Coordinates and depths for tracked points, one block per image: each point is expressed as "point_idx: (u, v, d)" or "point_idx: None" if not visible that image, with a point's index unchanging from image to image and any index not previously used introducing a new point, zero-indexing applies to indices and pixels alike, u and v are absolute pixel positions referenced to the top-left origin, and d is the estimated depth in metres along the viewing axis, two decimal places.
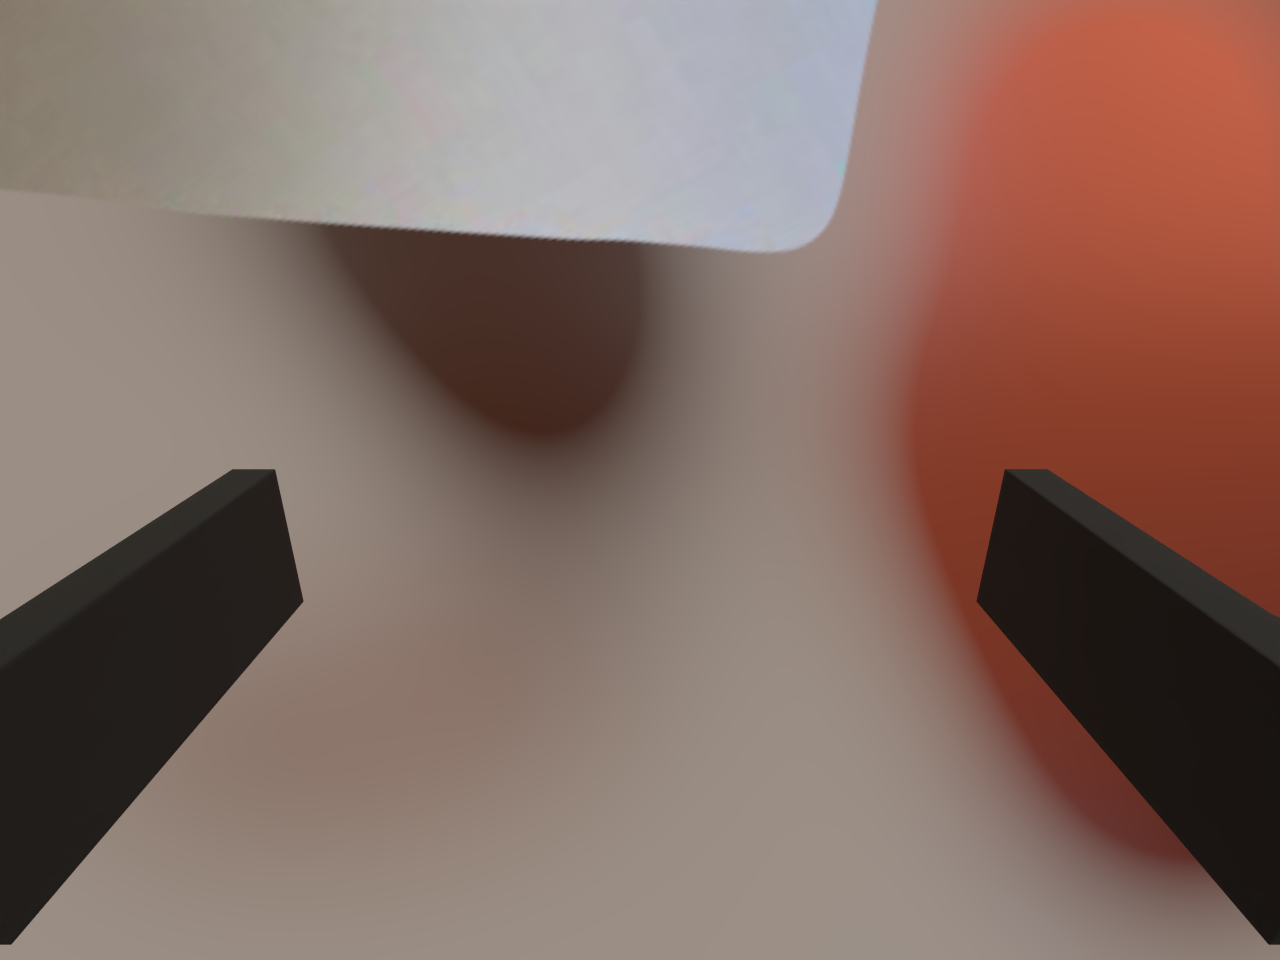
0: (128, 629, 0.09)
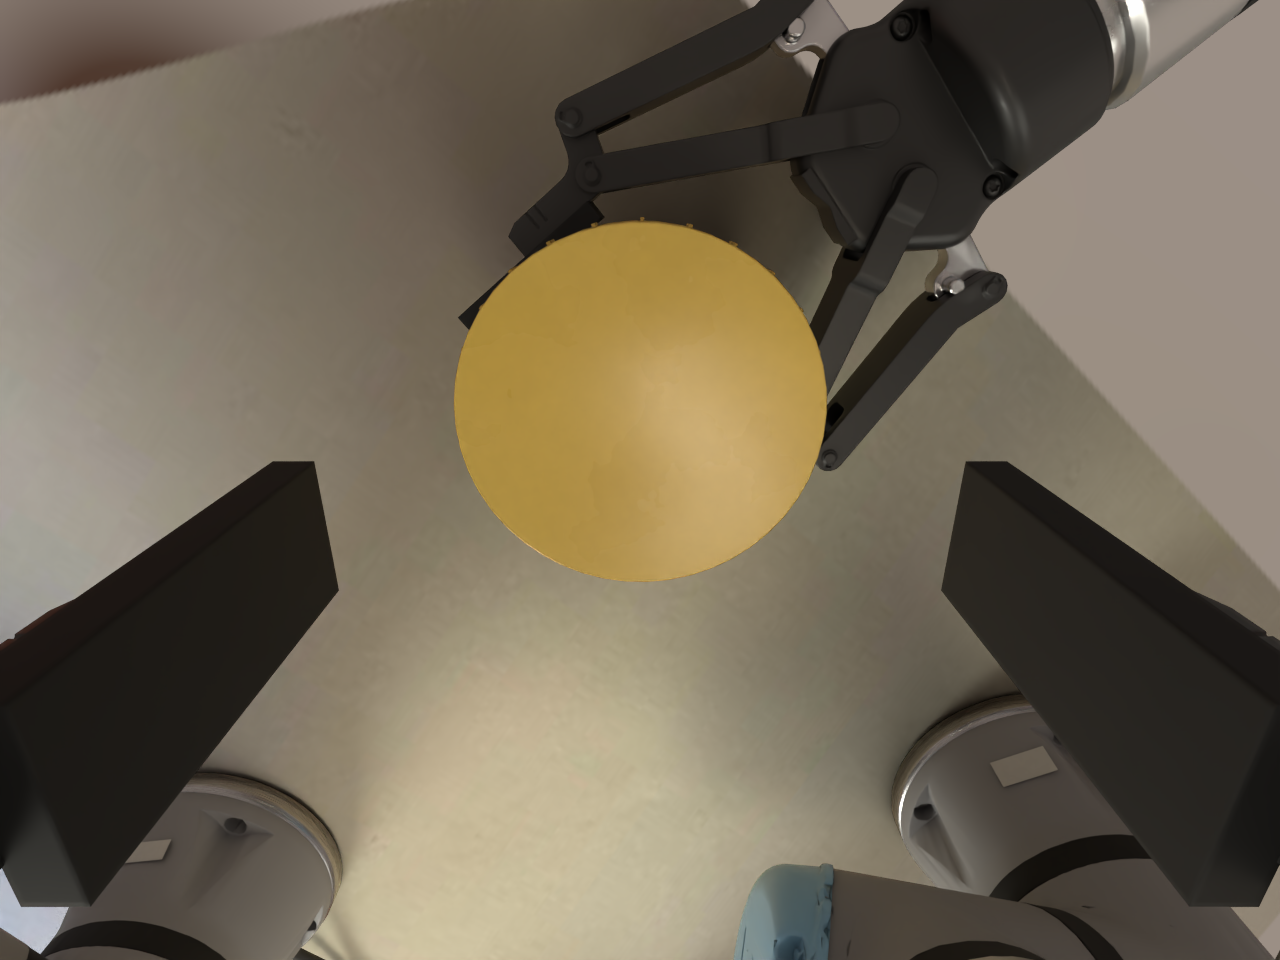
0: (188, 611, 0.09)
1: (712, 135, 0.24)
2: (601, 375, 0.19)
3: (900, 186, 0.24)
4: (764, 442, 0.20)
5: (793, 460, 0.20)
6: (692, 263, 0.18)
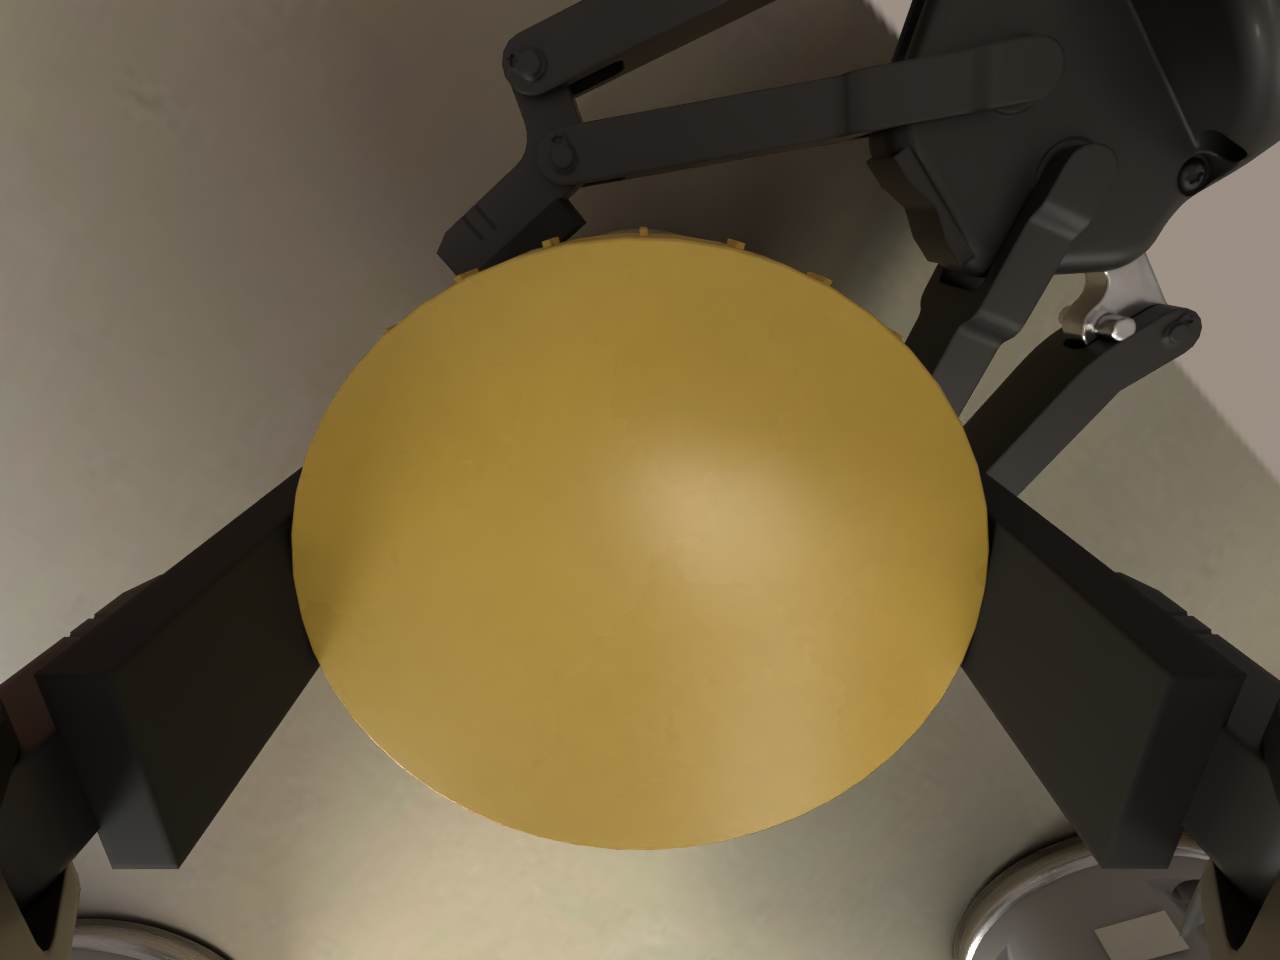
0: (257, 593, 0.09)
1: (755, 93, 0.15)
2: (566, 525, 0.10)
3: (1054, 174, 0.15)
4: (867, 638, 0.11)
5: (917, 667, 0.11)
6: (744, 320, 0.09)
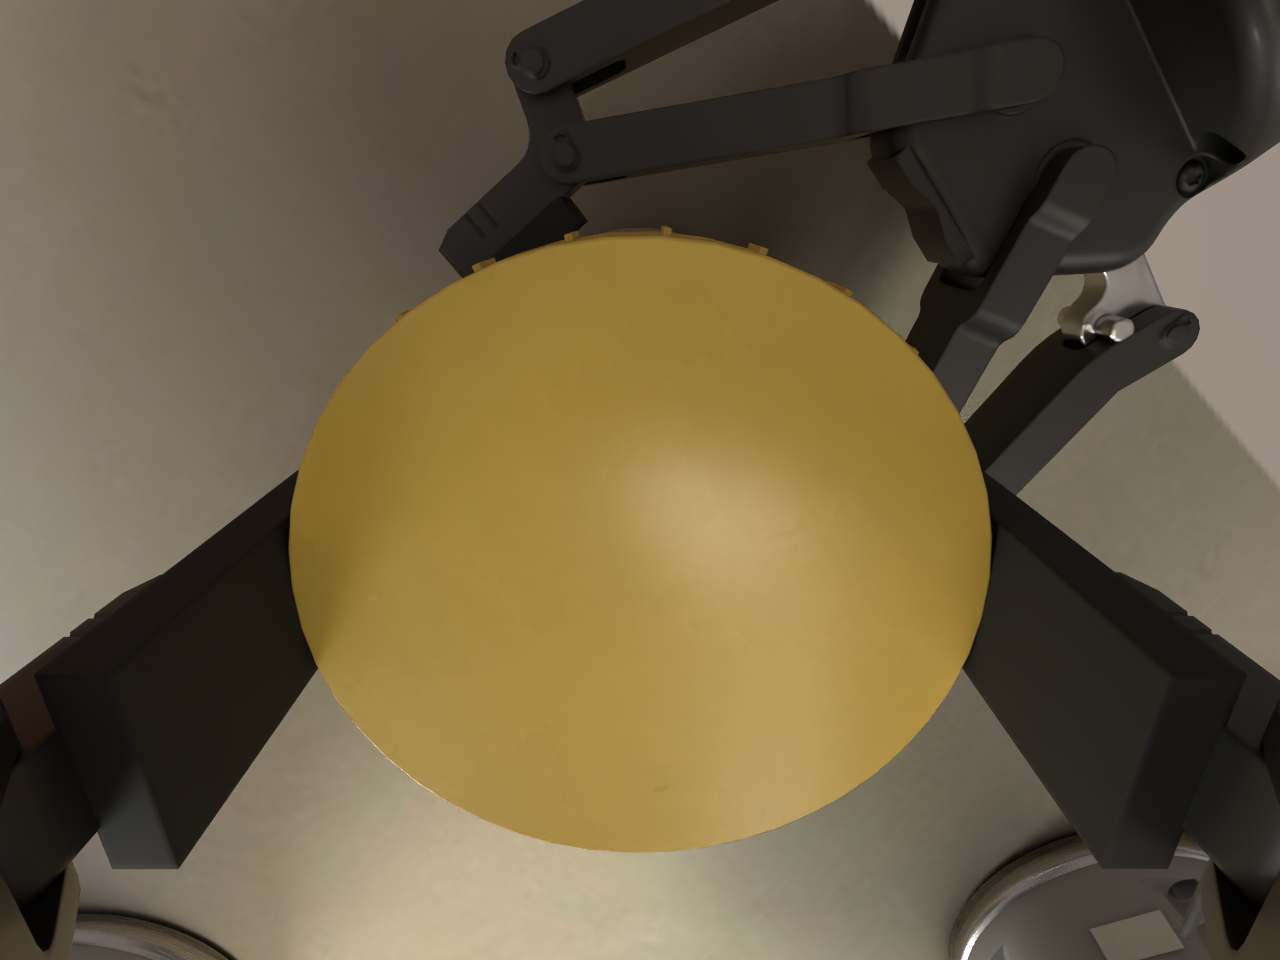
0: (256, 593, 0.09)
1: (756, 93, 0.15)
2: (583, 679, 0.11)
3: (1054, 176, 0.15)
4: (607, 370, 0.09)
5: (626, 292, 0.09)
6: (347, 602, 0.10)
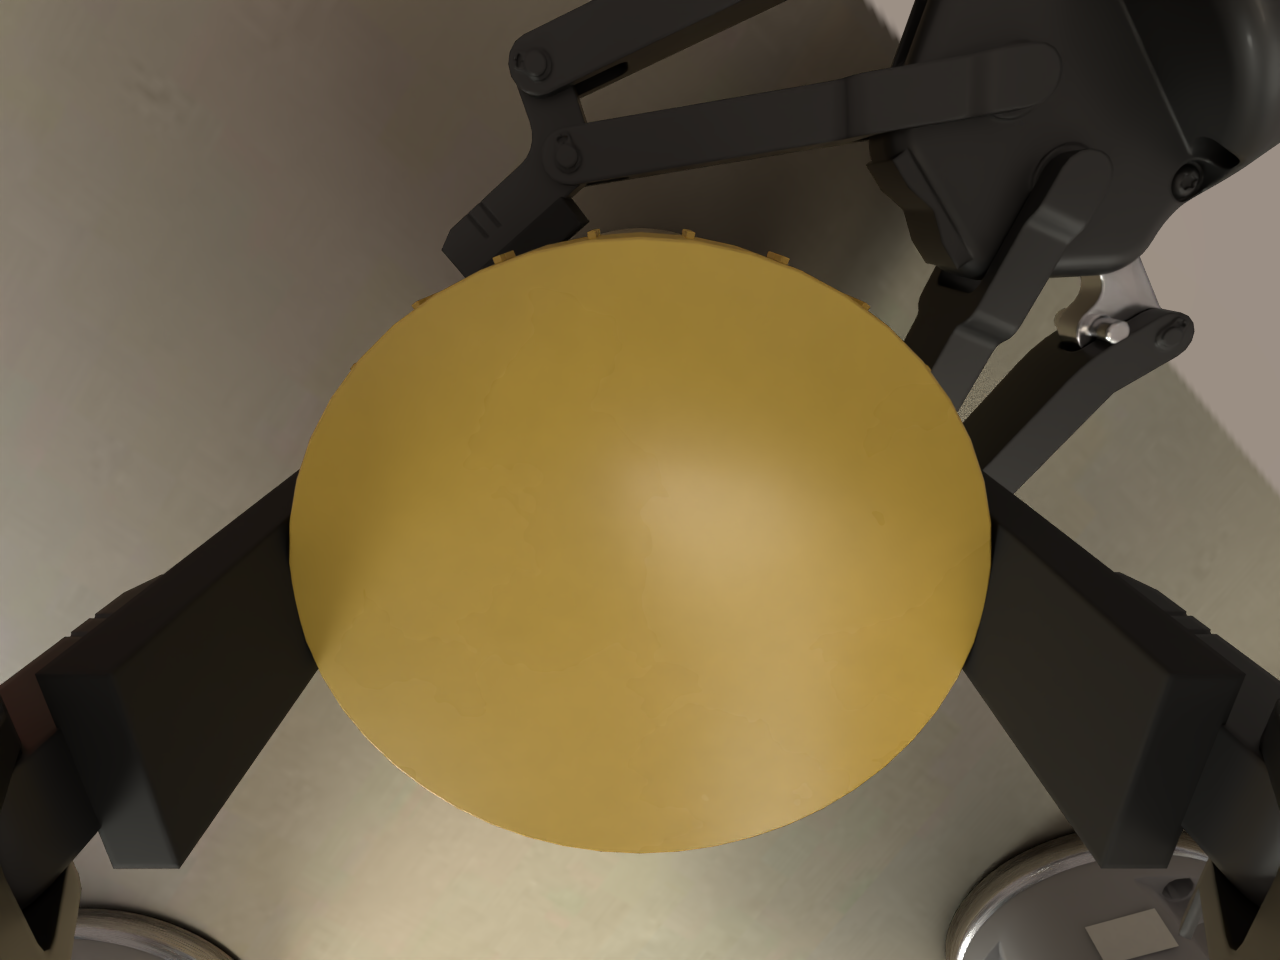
0: (257, 593, 0.09)
1: (757, 95, 0.15)
2: (745, 628, 0.11)
3: (1050, 179, 0.15)
4: (434, 684, 0.11)
5: (370, 687, 0.11)
6: (715, 812, 0.12)
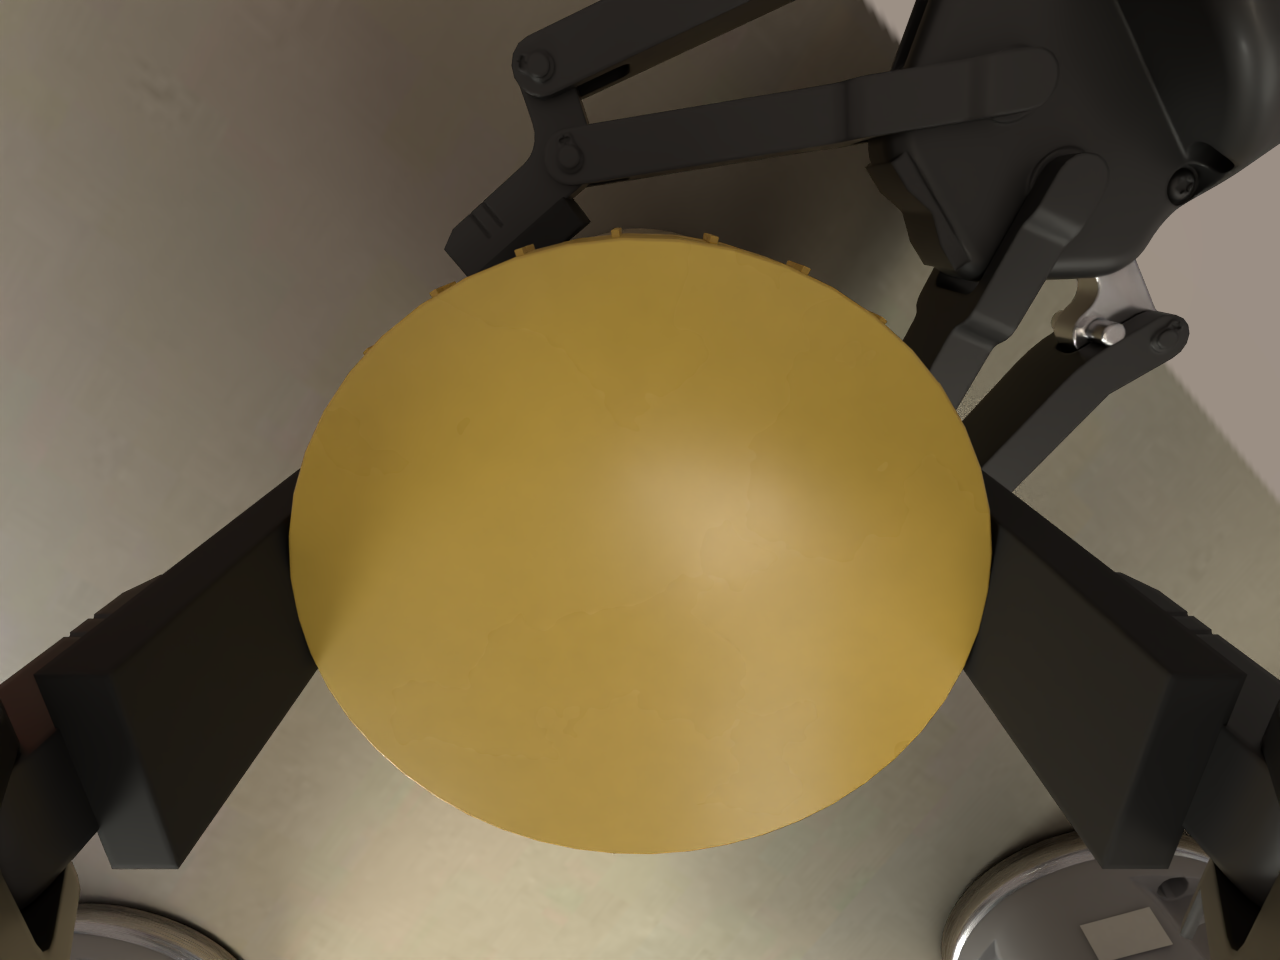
0: (257, 593, 0.09)
1: (757, 98, 0.15)
2: (635, 503, 0.10)
3: (1047, 182, 0.15)
4: (785, 744, 0.11)
5: (801, 788, 0.12)
6: (905, 447, 0.09)
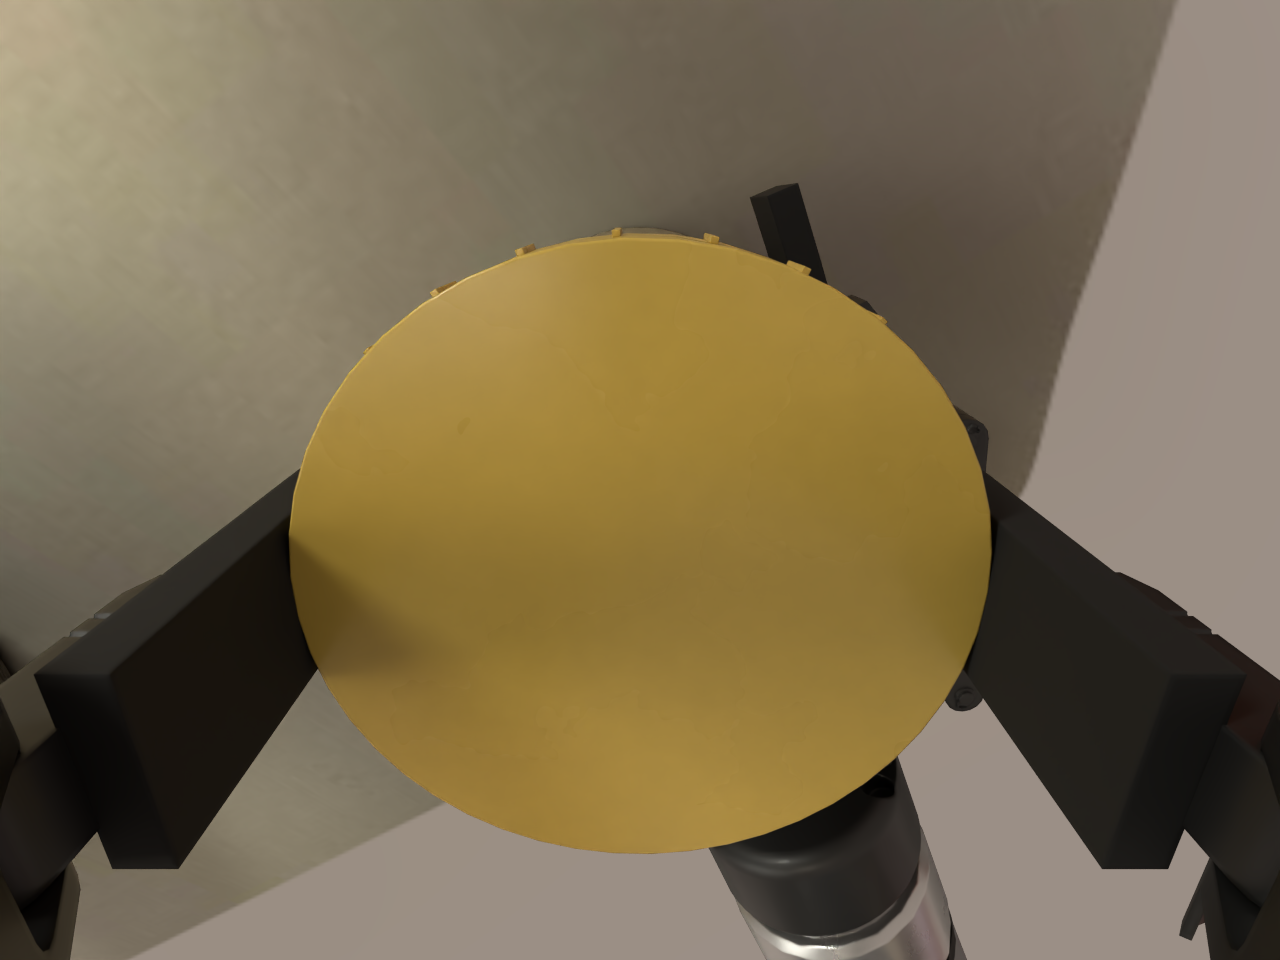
0: (257, 593, 0.09)
1: None
2: (635, 503, 0.10)
3: None
4: (784, 744, 0.11)
5: (801, 788, 0.12)
6: (905, 447, 0.09)
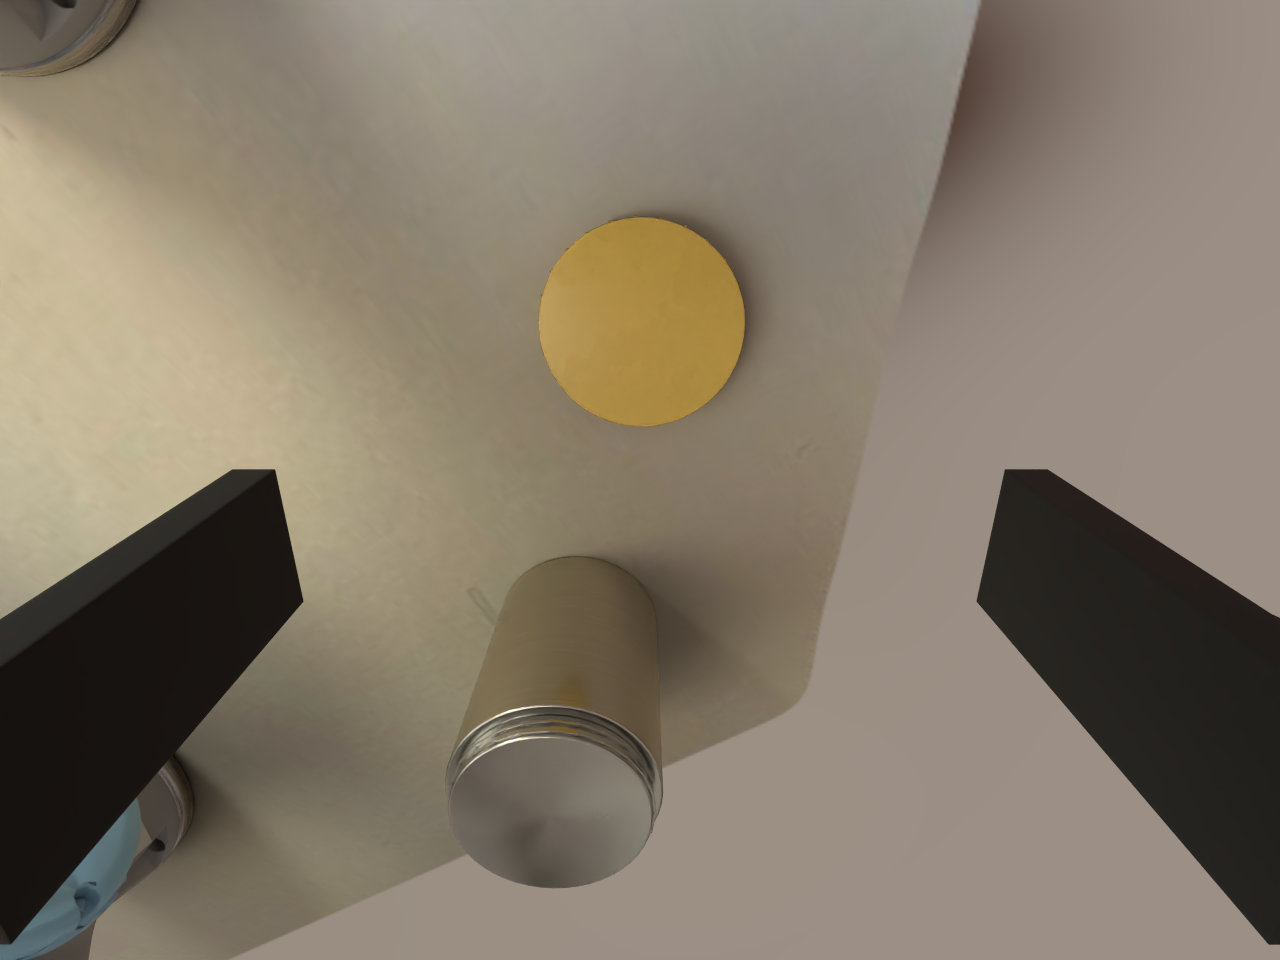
0: (128, 629, 0.09)
1: None
2: (640, 294, 0.34)
3: None
4: (687, 379, 0.36)
5: (694, 397, 0.36)
6: (715, 276, 0.34)
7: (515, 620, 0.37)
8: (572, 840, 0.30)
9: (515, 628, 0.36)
